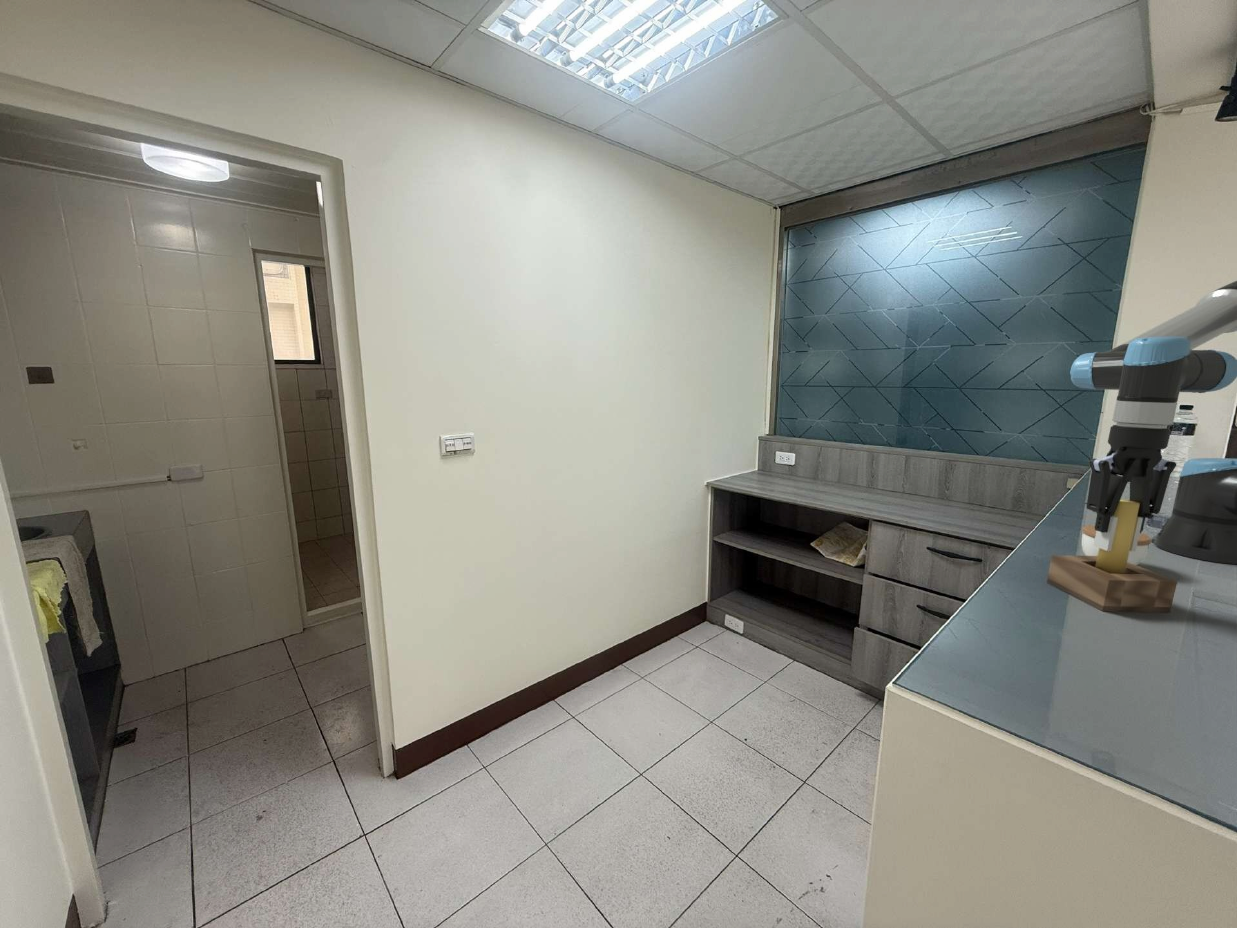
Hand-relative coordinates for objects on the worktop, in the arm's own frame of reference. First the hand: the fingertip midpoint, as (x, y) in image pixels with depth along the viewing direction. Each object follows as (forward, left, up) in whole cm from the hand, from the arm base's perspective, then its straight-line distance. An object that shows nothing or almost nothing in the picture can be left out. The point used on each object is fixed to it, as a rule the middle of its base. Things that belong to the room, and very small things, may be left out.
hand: (1114, 548), depth 92 cm
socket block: (0, 0, -10) cm, 10 cm away
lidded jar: (-16, -16, -10) cm, 25 cm away
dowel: (0, 0, -5) cm, 5 cm away
